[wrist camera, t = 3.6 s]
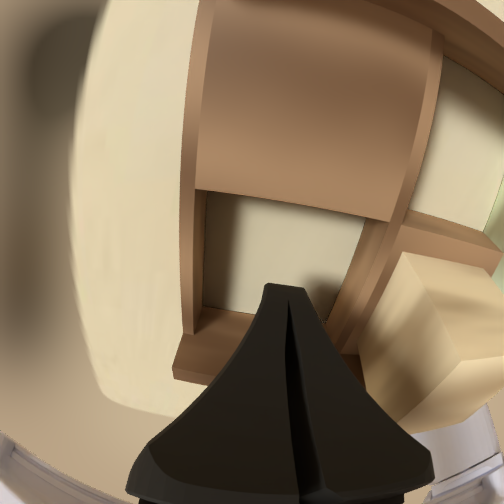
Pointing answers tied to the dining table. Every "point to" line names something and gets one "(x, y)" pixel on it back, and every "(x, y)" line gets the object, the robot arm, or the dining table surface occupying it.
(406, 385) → the birch block
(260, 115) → the frame
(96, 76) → the dining table surface
